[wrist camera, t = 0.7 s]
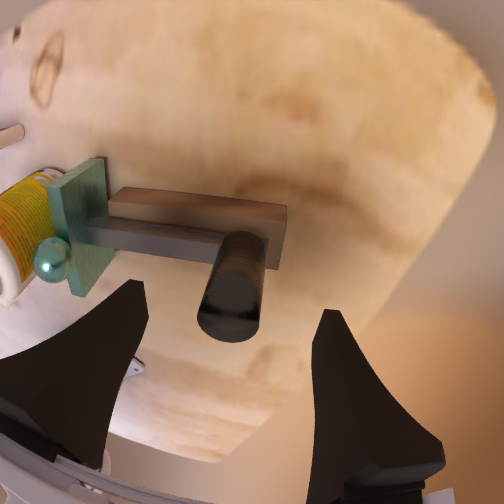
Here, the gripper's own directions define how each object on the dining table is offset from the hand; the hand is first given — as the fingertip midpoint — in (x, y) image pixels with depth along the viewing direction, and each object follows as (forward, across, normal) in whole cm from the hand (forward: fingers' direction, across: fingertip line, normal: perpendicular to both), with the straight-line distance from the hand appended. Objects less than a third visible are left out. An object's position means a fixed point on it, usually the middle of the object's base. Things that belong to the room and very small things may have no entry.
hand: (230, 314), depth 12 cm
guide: (+8, +3, 0) cm, 8 cm away
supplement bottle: (+8, +14, 0) cm, 16 cm away
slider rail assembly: (+7, +5, 0) cm, 9 cm away
